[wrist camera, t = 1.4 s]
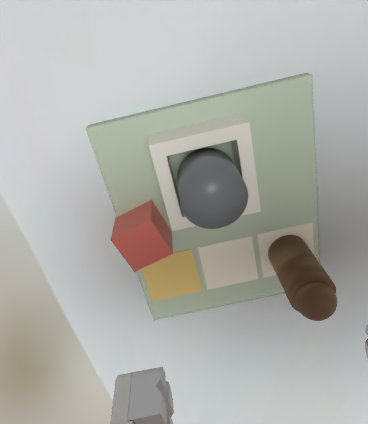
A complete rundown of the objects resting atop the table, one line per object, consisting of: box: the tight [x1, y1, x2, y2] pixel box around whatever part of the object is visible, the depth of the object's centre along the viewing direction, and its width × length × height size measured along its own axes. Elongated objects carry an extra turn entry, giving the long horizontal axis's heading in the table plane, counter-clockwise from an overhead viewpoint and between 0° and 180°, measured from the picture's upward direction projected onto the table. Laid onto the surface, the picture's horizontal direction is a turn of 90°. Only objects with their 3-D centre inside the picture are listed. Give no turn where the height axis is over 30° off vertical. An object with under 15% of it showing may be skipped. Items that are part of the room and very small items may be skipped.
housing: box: [149, 113, 261, 231], centre depth 26 cm, size 7×7×3 cm
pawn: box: [268, 235, 337, 321], centre depth 28 cm, size 4×4×8 cm
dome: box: [177, 148, 248, 229], centre depth 24 cm, size 4×4×4 cm
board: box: [86, 73, 320, 320], centre depth 30 cm, size 17×20×1 cm
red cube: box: [111, 200, 173, 272], centre depth 28 cm, size 4×4×4 cm
